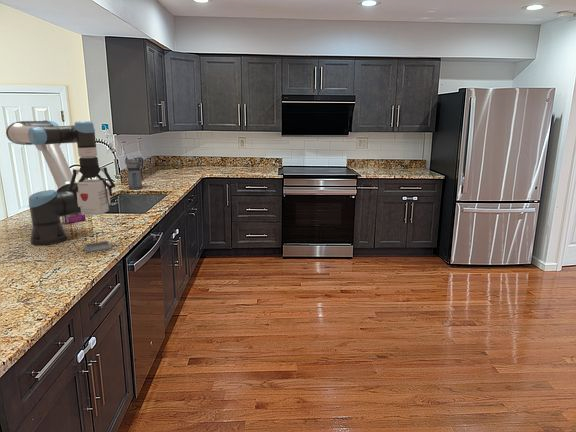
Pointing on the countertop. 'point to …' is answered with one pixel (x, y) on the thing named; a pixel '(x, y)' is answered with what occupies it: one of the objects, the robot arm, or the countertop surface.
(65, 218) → the candy bar box
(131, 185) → the gray tapered canister
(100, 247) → the slate coaster
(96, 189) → the supplement box
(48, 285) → the countertop surface
